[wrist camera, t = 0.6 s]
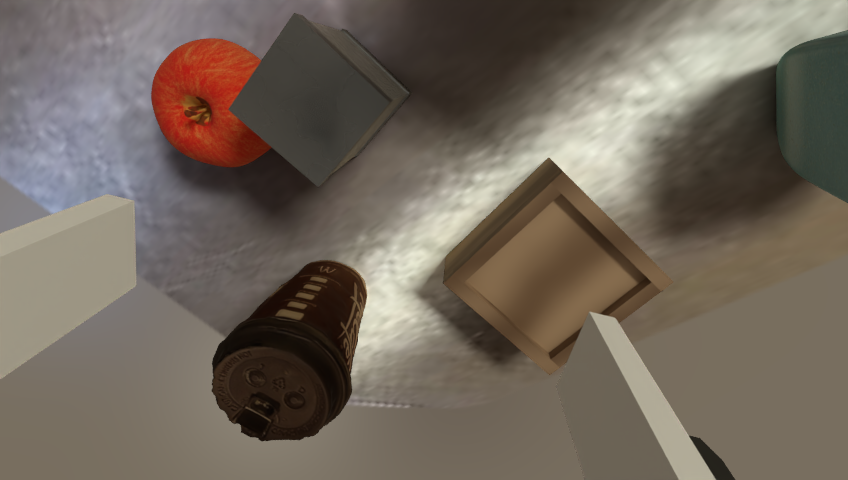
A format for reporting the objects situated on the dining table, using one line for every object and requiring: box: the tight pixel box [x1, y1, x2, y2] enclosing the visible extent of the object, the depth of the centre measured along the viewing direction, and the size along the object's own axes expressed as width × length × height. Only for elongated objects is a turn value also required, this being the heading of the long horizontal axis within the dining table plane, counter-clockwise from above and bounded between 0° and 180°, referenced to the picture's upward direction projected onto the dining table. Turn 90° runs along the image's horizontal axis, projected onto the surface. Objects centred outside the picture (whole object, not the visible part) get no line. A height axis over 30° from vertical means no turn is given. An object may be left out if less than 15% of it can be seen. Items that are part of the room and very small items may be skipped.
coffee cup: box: [212, 260, 367, 441], centre depth 31 cm, size 9×8×13 cm
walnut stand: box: [443, 158, 673, 375], centre depth 32 cm, size 11×11×5 cm
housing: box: [228, 13, 412, 187], centre depth 27 cm, size 6×6×10 cm
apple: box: [151, 39, 272, 167], centre depth 29 cm, size 8×8×8 cm
